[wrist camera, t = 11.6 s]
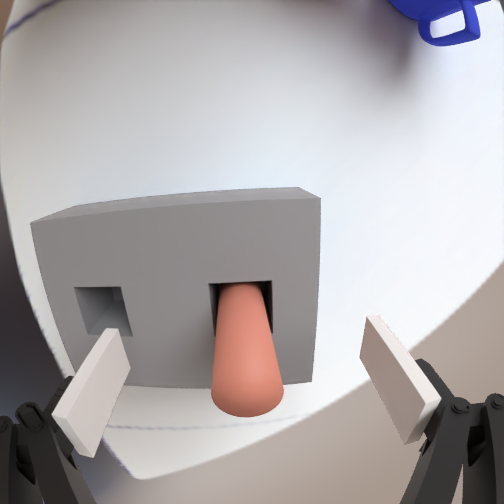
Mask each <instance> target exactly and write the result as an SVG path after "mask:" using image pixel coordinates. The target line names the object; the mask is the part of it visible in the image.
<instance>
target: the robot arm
mask: <svg viewBox="0 0 504 504" xmlns="http://www.w3.org/2000/svg"><path fill="white" fill-rule="evenodd" d="M360 359H361V361H362V363H363V365H364V366H365V368H366V370H367V372H368V374H369V376H370V378H371V380H372V382H373V383H374V385H375V387H376V389H377V391H378V393H379V395H380V397H381V399H382V401H383V403H384V405H385V407H386V409H387V411H388V413H389V415H390V417H391V419H392V421H393V423H394V425H395V427H396V429H397V431H398V433H399V435H400V437H401V439H402V441H403V443H404V445H406V444H409V443H412V442H415V441H418V440H419V439H420V438H421V436H422V434H423V432H424V433H425V435H426V437H427V439H426V440H425V442H424V444H423V446H422V447H421V449H420V450H419V451H420V452H421V454H420V457H419V460H418V462H417V465H416V467H415V470H414V473H413V475H412V477H411V480H410V482H409V484H408V487H407V489H406V491H405V493H404V495H403V498H402V500H401V502H400V504H451V503H452V499H453V497H454V493H455V490H456V486H457V483H458V479H459V476H460V472H461V468H462V464H463V499H462V504H504V396H503V395H501V394H496V393H494V394H491V395H489V396H488V397H487V399H486V400H485V402H484V403H476V404H470V403H469V402H468V401H467V400H466V399H463V398H460V397H454V395H453V394H452V393H451V391H450V390H449V389H448V387H447V386H446V385H445V383H444V382H443V381H442V379H441V378H439V375H438V374H437V373H436V372H435V371H434V369H433V368H432V366H431V365H430V364H429V363H427V362H426V361H424V360H423V359H418V360H414V359H413V358H412V356H411V355H410V354H409V352H408V351H407V350H406V348H405V347H404V346H403V345H402V343H401V342H400V341H399V339H398V338H397V337H396V335H395V334H394V333H393V331H392V330H391V329H390V328H389V326H388V325H387V324H386V322H385V321H384V320H383V319H382V317H381V316H380V315H373V316H367V317H366V323H365V329H364V335H363V341H362V346H361V352H360ZM130 369H131V367H130V365H129V362H128V359H127V356H126V353H125V350H124V346H123V343H122V340H121V337H120V333H119V330H118V329H114V328H106V329H105V330H104V332H103V333H102V335H101V336H100V338H99V339H98V341H97V342H96V344H95V345H94V347H93V348H92V350H91V351H90V353H89V354H88V356H87V357H86V359H85V360H84V362H83V364H82V365H81V367H80V368H79V370H78V371H77V373H76V375H75V376H68V377H67V378H66V379H65V380H64V381H62V383H61V384H60V386H59V387H58V390H56V392H55V394H54V396H53V397H52V398H51V400H50V402H49V403H48V405H47V407H46V408H45V410H44V412H42V411H41V409H40V407H39V406H38V405H37V404H36V403H33V402H27V403H24V404H22V405H21V406H20V407H19V408H18V409H17V410H16V413H15V417H16V418H17V420H18V421H19V423H20V424H14V423H13V422H12V420H11V419H10V418H9V417H8V416H0V504H43V500H44V502H45V504H96V502H95V500H94V498H93V496H92V494H91V492H90V490H89V488H88V486H87V484H86V482H85V480H84V478H83V475H82V473H81V471H80V469H79V466H78V464H77V462H76V459H75V457H74V455H73V454H72V450H73V448H75V449H76V450H77V452H78V453H79V454H80V455H84V456H88V457H92V458H94V455H95V453H96V450H97V448H98V445H99V442H100V440H101V437H102V435H103V432H104V430H105V427H106V425H107V422H108V420H109V417H110V415H111V413H112V410H113V408H114V405H115V403H116V401H117V398H118V396H119V394H120V391H121V389H122V387H123V384H124V382H125V380H126V378H127V375H128V373H129V371H130ZM42 497H43V498H42Z"/></svg>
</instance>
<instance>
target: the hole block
mask: <svg viewBox="0 0 504 504" xmlns="http://www.w3.org/2000/svg"><path fill="white" fill-rule="evenodd" d="M320 220H321V198H319V197H317V196H315V195H313V194H311V193H309V192H307V191H305V190H303V189H301V188H299V187H289V188H260V189H240V190H222V191H208V192H194V193H182V194H171V195H160V196H150V197H141V198H132V199H123V200H115V201H107V202H99V203H92V204H85V205H78V206H73V207H71V208H68V209H65V210H62V211H59V212H57V213H54V214H51V215H49V216H46V217H43V218H41V219H38V220H36V221H33V222H31V223H30V225H31V231H32V236H33V241H34V246H35V251H36V255H37V260H38V264H39V268H40V272H41V276H42V280H43V284H44V287H45V291H46V294H47V298H48V301H49V304H50V307H51V310H52V313H53V316H54V319H55V322H56V325H57V328H58V331H59V333H60V336H61V339H62V341H63V344H64V347H65V349H66V352H67V354H68V356H69V359H70V361H71V364H72V366H73V368H74V370H75V373H77V371H78V370H79V368H80V367H81V365H82V364H83V362H84V360H85V359H86V357H87V356H88V354H89V353H90V351H91V350H92V348H93V347H94V345H95V344H96V342H97V341H98V339H99V338H100V336H101V335H102V333H103V332H104V330H105V329H106V328H114V329H118V330H119V333H120V337H121V340H122V343H123V346H124V350H125V353H126V356H127V359H128V362H129V365H130V367H131V369H130V371H129V373H128V375H127V378H126V380H125V382H124V384H123V385H132V386H146V387H164V388H212V377H213V364H214V351H215V339H216V327H217V315H218V304H219V293H220V283H229V282H249V281H259V283H260V287H261V292H262V296H263V300H264V305H265V309H266V314H267V318H268V322H269V327H270V331H271V336H272V340H273V345H274V349H275V353H276V358H277V362H278V367H279V371H280V375H281V380H282V384H283V385H287V384H297V383H306V382H312V372H313V362H314V350H315V338H316V324H317V309H318V290H319V266H320Z"/></svg>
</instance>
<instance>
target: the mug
mask: <svg viewBox="0 0 504 504" xmlns="http://www.w3.org/2000/svg"><path fill="white" fill-rule="evenodd" d="M389 1H390V2H391V3H392V4H393V6H394V7H395V8H397V9H398V10H399V11H400V12H401V13H403V14H404V15H406V16H408V17H410V18H412V19H414V20H417V21H419V22H418V28H419V33H420V36H421V38H422V39H423V40H424V41H425V42H427V43H429V44H431V45H434V46H450V45H456V44H460V43H465V42H469V41H473V40H476V39H479V38H480V27H479V22H478V18H477V14H476V10H475V8H474V6H475V5H478V4H481V3H484V2H487V1H490V0H389ZM461 10H463V14H464V19H465V29H463V30H461V31H458V32H455V33H452V34H449V35H446V36H443V37H438V38H432V36H431V34H430V22H431V21H435V20H438V19H440V18H442V17H445V16H448V15H450V14H453V13H455V12H458V11H461Z"/></svg>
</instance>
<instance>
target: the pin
mask: <svg viewBox="0 0 504 504" xmlns="http://www.w3.org/2000/svg"><path fill="white" fill-rule="evenodd" d="M283 393H284V389H283V384H282V380H281V375H280V371H279V367H278V362H277V358H276V353H275V349H274V345H273V340H272V336H271V331H270V327H269V322H268V318H267V314H266V309H265V305H264V300H263V296H262V292H261V287H260V283H259V281H249V282H229V283H220V293H219V304H218V315H217V327H216V339H215V351H214V364H213V377H212V392H211V394H212V399H213V401H214V403H215V405H216V406H217V407H218V408H219V409H221V410H222V411H224V412H225V413H227V414H230V415H233V416H238V417H254V416H259V415H262V414H265V413H267V412H269V411H271V410H272V409H274V408H275V407H276V406H277V405H278V404H279V403H280V401H281V400H282V397H283Z"/></svg>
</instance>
